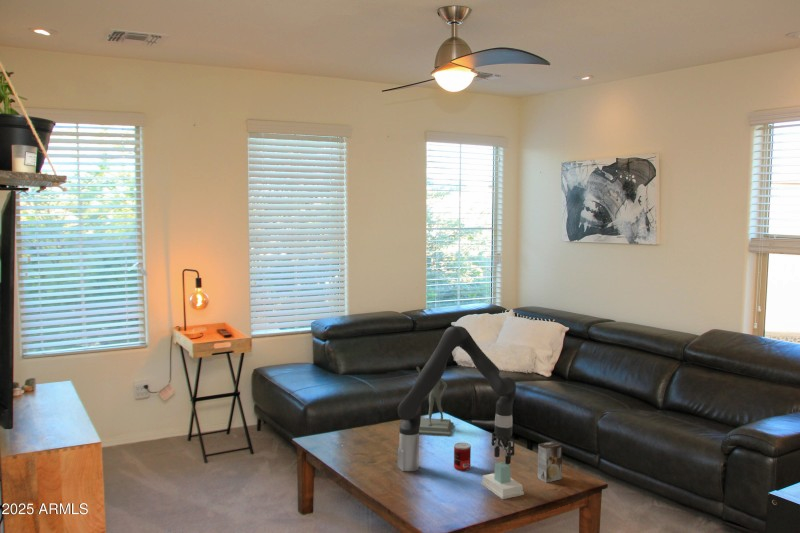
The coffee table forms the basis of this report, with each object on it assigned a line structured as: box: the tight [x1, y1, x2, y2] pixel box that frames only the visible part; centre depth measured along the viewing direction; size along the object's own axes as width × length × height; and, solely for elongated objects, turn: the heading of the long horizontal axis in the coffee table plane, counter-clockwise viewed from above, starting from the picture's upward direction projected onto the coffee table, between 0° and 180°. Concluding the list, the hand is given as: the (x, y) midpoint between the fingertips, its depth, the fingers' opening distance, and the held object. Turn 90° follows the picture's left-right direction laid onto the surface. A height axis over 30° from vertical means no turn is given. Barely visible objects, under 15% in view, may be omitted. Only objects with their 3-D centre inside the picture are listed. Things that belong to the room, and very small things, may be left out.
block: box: [493, 461, 512, 483], centre depth 288 cm, size 5×5×7 cm
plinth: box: [480, 472, 525, 500], centre depth 288 cm, size 11×17×4 cm, turn 24°
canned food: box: [453, 441, 472, 472], centre depth 312 cm, size 8×8×11 cm
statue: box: [415, 366, 455, 437], centre depth 365 cm, size 20×19×36 cm
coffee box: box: [537, 440, 563, 483], centre depth 299 cm, size 9×6×16 cm
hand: (502, 460), depth 287 cm, fingers open, 8 cm apart
